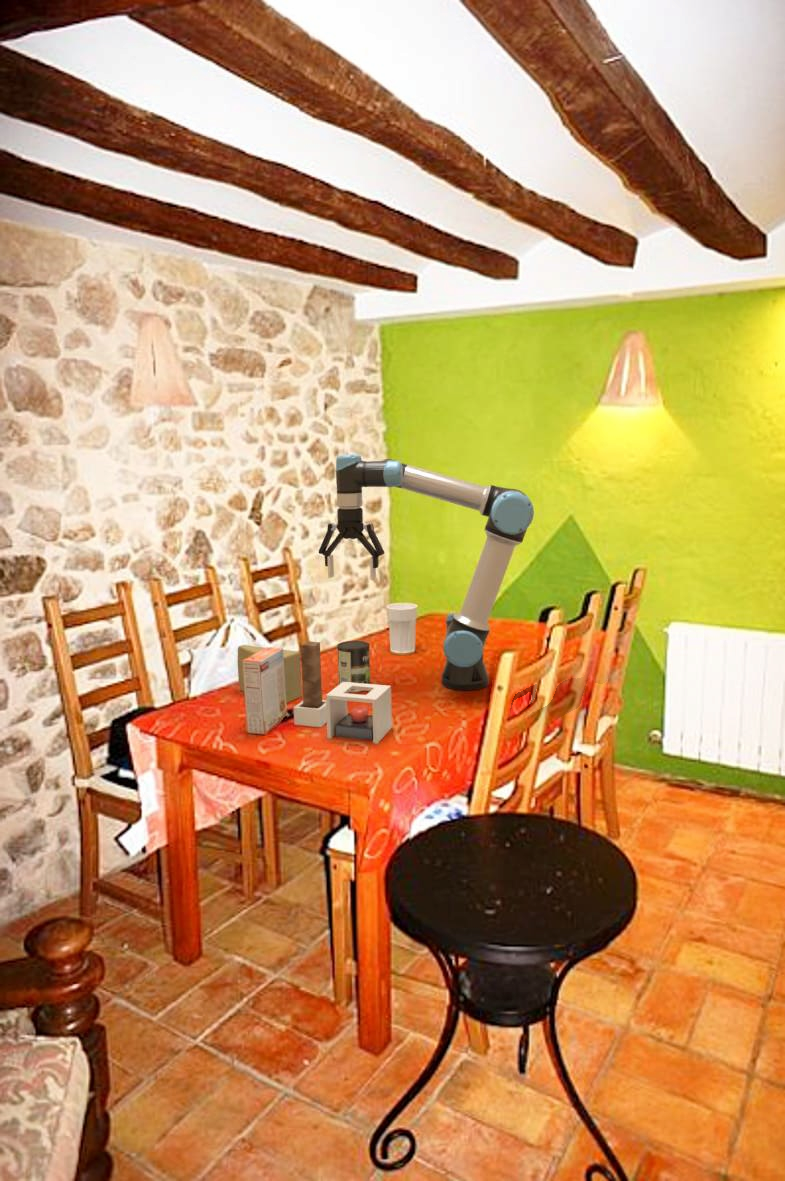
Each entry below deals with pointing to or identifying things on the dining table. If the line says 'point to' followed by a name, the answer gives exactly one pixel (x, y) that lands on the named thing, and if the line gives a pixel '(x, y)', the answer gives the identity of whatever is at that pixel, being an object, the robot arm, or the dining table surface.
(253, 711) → the cracker box
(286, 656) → the beige block
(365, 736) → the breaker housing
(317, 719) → the holder
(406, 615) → the cup
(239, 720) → the dining table surface
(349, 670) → the coffee can
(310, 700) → the brown wooden dowel
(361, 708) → the red round piece
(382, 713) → the guard
